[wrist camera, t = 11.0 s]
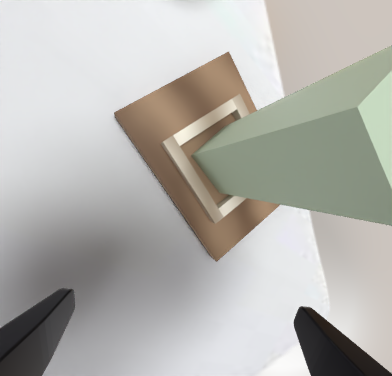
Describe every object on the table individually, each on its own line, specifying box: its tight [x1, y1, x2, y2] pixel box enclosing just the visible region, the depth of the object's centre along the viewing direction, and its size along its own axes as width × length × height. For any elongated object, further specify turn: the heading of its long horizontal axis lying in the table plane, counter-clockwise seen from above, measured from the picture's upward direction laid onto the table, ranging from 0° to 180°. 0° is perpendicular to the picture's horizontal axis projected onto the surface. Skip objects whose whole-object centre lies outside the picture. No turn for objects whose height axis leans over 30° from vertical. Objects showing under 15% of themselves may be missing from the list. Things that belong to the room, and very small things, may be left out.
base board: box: [114, 52, 281, 262], centre depth 18 cm, size 12×16×2 cm
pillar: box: [191, 46, 392, 226], centre depth 12 cm, size 4×4×13 cm
